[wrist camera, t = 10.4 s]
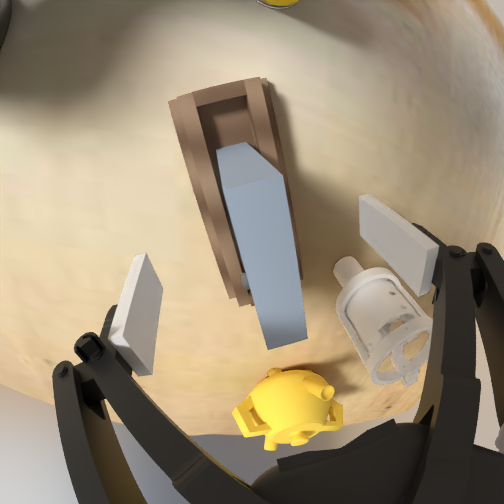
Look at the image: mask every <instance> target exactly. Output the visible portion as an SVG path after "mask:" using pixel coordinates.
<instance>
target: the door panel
mask: <svg viewBox="0 0 504 504" xmlns="http://www.w3.org/2000/svg"><path fill="white" fill-rule="evenodd" d="M216 153H217V159H218V165H219V171H220V177H221V182H222V188H223V193H224V196H225V200H226V204H227V207H228V211H229V215H230V218H231V222H232V225H233V229H234V233H235V236H236V240H237V243H238V247H239V251H240V254H241V258H242V261H243V265H244V268H245V273H241V274H240V277H241V281H242V285H243V288H244V290H248V289H250V290H251V293H252V297H253V300H254V304H255V307H256V311H257V314H258V318H259V321H260V325H261V328H262V331H263V335H264V338H265V342H266V345H267V349H268V350H270V349H273V348H277V347H281V346H284V345H288V344H291V343H295V342H298V341H302V340H305V339H308V337H307V328H306V320H305V312H304V305H303V297H302V290H301V283H300V276H299V269H298V262H297V256H296V249H295V243H294V237H293V230H292V224H291V218H290V213H289V207H288V201H287V196H286V190H285V185H284V179H283V175H282V174H281V173H280V172H279V171H278V170H277V169H276V168H274V167H273V166H272V165H271V164H270V163H269V162H268V161H267V160H266V159H265V158H263V157H262V156H261V155H260V154H259V153H258V152H257V151H256V150H255V149H253V148H252V147H251V146H250V145H249V144H248V143H247V142H243V143H239V144H235V145H231V146H227V147H223V148H219V149H216Z"/></svg>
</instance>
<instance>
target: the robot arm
mask: <svg viewBox="0 0 504 504" xmlns="http://www.w3.org/2000/svg"><path fill="white" fill-rule="evenodd" d="M10 13H11V1H10V0H0V47H1V45H2V42H3V40H4V37H5V34H6V31H7V28H8V24H9V19H10ZM358 197H359V223H360V236H361V237H362V238H363V239H364V240H365V241H366V242H367V243H368V244H369V245H370V246H371V247H372V248H373V249H374V250H375V251H376V252H377V253H378V254H379V255H380V256H381V257H382V258H383V259H384V260H385V261H386V262H387V263H388V264H389V265H390V267H391V268H392V269H393V270H394V271H395V272H396V273H397V274H398V275H399V276H400V277H401V278H402V280H403V281H404V282H405V283H406V284H407V285H408V286H409V287H410V288H411V290H412V291H413V292H414V293H415V294H416V295H417V296H418V297H420V296H422V295H425V294H427V293H429V292H430V288H431V284H432V283H433V284H434V285H435V286H436V290H435V293H434V297H433V301H432V304H434V314H433V325H432V335H431V344H430V351H429V358H428V365H427V370H426V376H425V381H424V386H423V391H422V396H421V401H420V405H419V408H418V411H417V414H416V416H415V418H414V421H413V423H397V424H396V423H395V420H394V419H391V420H389V421H387V422H385V423H383V424H381V425H378V426H376V427H374V428H372V429H369V430H367V431H366V432H364V433H363V434H361V435H360V436H358V437H357V438H356V439H354V440H353V441H351V442H350V443H348V444H347V445H345V446H343V447H342V448H339V449H332V450H321V451H308V452H303V453H301V454H296V455H292V456H288V457H284V458H281V459H277V463H278V465H276V466H274V467H272V468H270V469H269V470H267V471H266V472H264V473H263V474H262V475H260V476H259V477H258V478H257V479H256V480H255V482H254V483H253V484H252V485H249V484H248V483H246V482H245V481H244V480H242V479H241V478H239V477H238V476H236V475H235V474H233V473H232V472H231V471H229V470H228V469H227V468H226V467H224V466H223V465H221V464H220V463H219V462H218V461H216V460H215V459H214V458H213V457H212V456H211V455H209V454H208V453H207V452H206V451H205V450H204V449H202V448H201V447H200V446H199V445H198V444H197V443H196V442H194V441H193V440H192V439H191V438H190V437H189V436H188V435H187V434H186V433H185V432H183V431H182V430H181V429H180V428H179V427H178V426H177V425H176V424H175V423H174V422H173V421H172V420H171V419H170V418H169V417H168V416H167V415H166V414H165V413H164V412H163V411H162V410H161V409H160V408H159V407H158V406H157V405H156V403H155V402H154V401H153V400H152V399H151V398H150V397H149V396H148V395H147V394H146V393H145V391H144V390H143V389H142V388H141V387H140V386H139V385H138V383H137V382H136V381H135V380H134V379H133V378H132V377H131V376H132V370H133V371H134V372H135V373H136V374H137V375H138V376H145V375H152V373H153V363H154V353H155V344H156V336H157V328H158V320H159V313H160V306H161V300H162V293H163V287H162V285H161V283H160V281H159V279H158V277H157V275H156V273H155V270H154V268H153V266H152V264H151V262H150V260H149V258H148V256H147V253H143V254H139V255H136V256H135V257H134V260H133V262H132V265H131V268H130V270H129V273H128V276H127V279H126V282H125V285H124V287H123V290H122V293H121V296H120V299H119V302H118V304H117V305H113V306H112V307H111V309H110V310H109V311H108V313H107V315H106V318H105V322H104V325H103V328H102V331H101V334H100V337H98V336H97V335H96V334H95V333H94V332H89V333H85V334H84V335H82V336H81V337H80V338H79V339H78V340H77V342H76V343H75V346H74V351H75V353H76V354H77V355H78V356H79V357H80V359H81V360H82V361H83V362H82V363H80V364H78V365H75V366H74V365H73V364H72V363H71V362H69V361H62V362H60V363H59V364H58V365H57V366H56V367H55V369H54V371H53V375H52V378H53V390H54V399H55V407H56V414H57V420H58V427H59V432H60V437H61V442H62V447H63V452H64V456H65V459H66V464H67V468H68V471H69V474H70V478H71V482H72V485H73V488H74V491H75V494H76V497H77V500H78V503H79V504H147V502H146V501H145V499H144V497H143V495H142V493H141V491H140V489H139V487H138V485H137V483H136V481H135V479H134V477H133V475H132V472H131V471H130V468H129V466H128V464H127V461H126V459H125V457H124V454H123V452H122V449H121V447H120V444H119V442H118V439H117V437H116V434H115V431H114V428H113V426H112V423H111V420H110V417H109V414H108V411H107V408H106V404H105V401H104V399H107V400H108V402H109V403H110V405H111V406H112V408H113V409H114V411H115V412H116V414H117V415H118V416H119V418H120V419H121V420H122V422H123V423H124V425H125V426H126V427H127V429H128V430H129V431H130V432H131V434H132V435H133V436H134V438H135V439H136V440H137V441H138V442H139V444H140V445H141V446H142V447H143V449H144V450H145V451H146V452H147V453H148V455H149V456H150V457H151V458H152V459H153V460H154V461H155V463H156V464H157V465H158V466H159V467H160V468H161V469H162V470H163V471H164V472H165V473H166V474H167V475H168V477H169V478H170V479H171V480H172V485H173V486H174V488H175V489H176V490H177V491H178V492H179V493H180V494H181V495H182V496H183V497H184V498H185V499H186V500H187V501H188V502H189V503H190V504H504V260H503V259H502V257H501V256H500V254H499V252H498V251H497V249H496V248H495V247H494V246H492V245H491V244H488V243H484V242H483V243H479V244H477V248H476V252H469V253H467V252H466V251H465V250H464V249H463V248H461V247H458V246H446V245H445V244H444V243H443V242H441V241H440V240H439V239H438V238H436V237H435V236H434V235H432V234H431V233H430V232H428V231H427V230H426V229H425V228H423V227H422V226H420V225H417V224H415V223H412V224H411V223H409V222H408V221H407V220H405V219H404V218H403V217H401V216H400V215H398V214H397V213H396V212H394V211H393V210H392V209H390V208H389V207H387V206H386V205H384V204H383V203H382V202H380V201H379V200H377V199H376V198H374V197H373V196H371V195H370V194H366V195H362V196H358ZM475 318H476V321H477V324H478V327H479V331H480V334H481V338H482V341H483V345H484V349H485V353H486V357H487V362H488V366H489V371H490V376H491V382H492V387H493V393H494V400H495V407H496V412H497V418H498V422H499V426H500V431H499V436H498V437H497V438H496V441H495V445H496V447H497V448H498V449H499V452H497V451H493V450H490V449H487V448H484V447H481V446H478V445H475V444H473V443H474V438H475V433H476V426H477V420H478V412H479V402H480V391H481V382H480V379H476V377H475V370H476V368H475V367H476V325H475Z"/></svg>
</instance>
